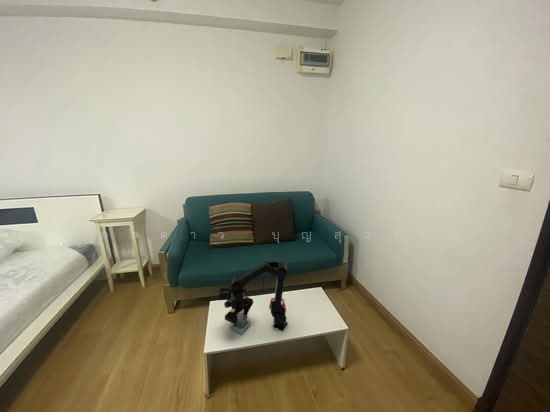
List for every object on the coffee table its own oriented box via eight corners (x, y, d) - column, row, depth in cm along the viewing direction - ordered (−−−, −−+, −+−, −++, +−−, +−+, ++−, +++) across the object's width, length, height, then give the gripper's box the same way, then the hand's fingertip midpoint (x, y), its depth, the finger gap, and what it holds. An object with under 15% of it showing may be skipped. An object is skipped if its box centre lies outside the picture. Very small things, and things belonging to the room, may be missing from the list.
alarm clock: (283, 294, 154) (287, 305, 140) (283, 303, 155) (288, 315, 140) (268, 296, 153) (270, 307, 138) (268, 305, 153) (271, 317, 138)
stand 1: (246, 312, 144) (245, 309, 143) (237, 321, 137) (237, 317, 137) (236, 308, 148) (236, 305, 147) (227, 316, 141) (227, 312, 141)
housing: (239, 319, 135) (238, 312, 134) (248, 323, 132) (247, 316, 130) (233, 324, 131) (232, 317, 130) (242, 329, 128) (242, 322, 126)
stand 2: (250, 325, 133) (250, 322, 133) (242, 335, 127) (241, 331, 126) (240, 320, 138) (239, 317, 137) (231, 329, 131) (230, 326, 130)
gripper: (238, 285, 139) (240, 306, 143) (216, 303, 123) (218, 326, 127) (253, 290, 133) (254, 313, 137) (231, 310, 118) (233, 334, 122)
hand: (240, 321), depth 131 cm, fingers open, 9 cm apart
